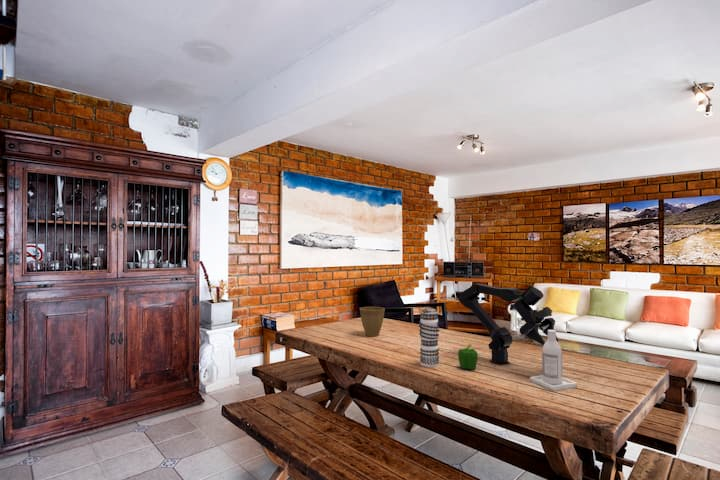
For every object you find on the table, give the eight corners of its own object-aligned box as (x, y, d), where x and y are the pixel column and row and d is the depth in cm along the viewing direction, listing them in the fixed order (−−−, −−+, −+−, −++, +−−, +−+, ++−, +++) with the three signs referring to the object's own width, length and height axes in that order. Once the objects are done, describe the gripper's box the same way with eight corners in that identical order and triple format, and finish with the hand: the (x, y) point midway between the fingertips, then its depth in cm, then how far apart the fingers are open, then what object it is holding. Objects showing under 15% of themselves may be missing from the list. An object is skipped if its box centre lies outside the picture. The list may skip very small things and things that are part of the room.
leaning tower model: (427, 359, 187) (426, 306, 187) (444, 363, 180) (443, 308, 181) (415, 364, 181) (414, 308, 181) (432, 368, 174) (431, 311, 174)
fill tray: (553, 391, 147) (552, 386, 147) (529, 380, 158) (529, 376, 158) (577, 387, 151) (577, 382, 151) (552, 377, 162) (552, 373, 162)
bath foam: (551, 378, 159) (550, 327, 159) (566, 383, 153) (565, 331, 153) (538, 380, 156) (537, 329, 156) (553, 386, 150) (552, 333, 150)
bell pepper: (468, 372, 169) (468, 348, 169) (454, 367, 176) (454, 344, 176) (482, 368, 173) (482, 345, 173) (468, 364, 180) (467, 341, 180)
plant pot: (385, 338, 229) (385, 310, 229) (359, 338, 229) (359, 310, 230) (384, 332, 244) (384, 306, 244) (360, 332, 244) (359, 306, 244)
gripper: (525, 302, 161) (552, 335, 152) (550, 298, 172) (577, 328, 163) (508, 319, 168) (533, 351, 159) (534, 314, 179) (558, 344, 170)
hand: (551, 343), depth 162 cm, fingers open, 9 cm apart
